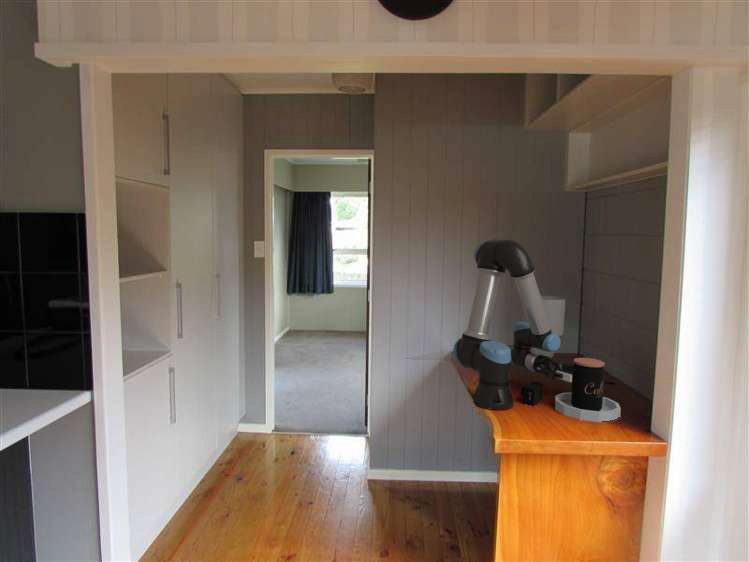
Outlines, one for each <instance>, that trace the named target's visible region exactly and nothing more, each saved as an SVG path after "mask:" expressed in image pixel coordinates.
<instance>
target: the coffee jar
mask: <svg viewBox="0 0 749 562" xmlns="http://www.w3.org/2000/svg"><path fill="white" fill-rule="evenodd" d="M573 364H574V366H573V372H572V382H571V392H572V396H571V404H572V406H573V407H575V408H578V409H583V410H591V411H600V410H601V409H602V402H603V397H604V382H605V368H604V367H605V364H606V362H604V361H603V360H600V359H598V358H597V359H596V358H591V357H576V358H574V359H573Z"/></svg>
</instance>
